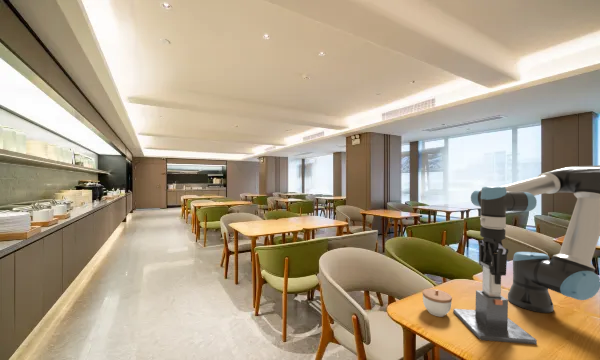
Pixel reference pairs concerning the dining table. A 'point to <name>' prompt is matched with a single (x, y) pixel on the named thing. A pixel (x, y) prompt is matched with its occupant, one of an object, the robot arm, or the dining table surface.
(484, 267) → the white square column
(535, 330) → the dining table surface
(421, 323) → the dining table surface
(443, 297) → the lidded jar
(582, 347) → the dining table surface
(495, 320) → the stand housing
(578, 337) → the dining table surface
